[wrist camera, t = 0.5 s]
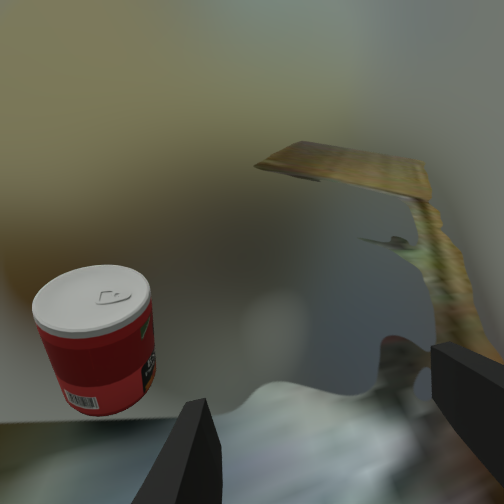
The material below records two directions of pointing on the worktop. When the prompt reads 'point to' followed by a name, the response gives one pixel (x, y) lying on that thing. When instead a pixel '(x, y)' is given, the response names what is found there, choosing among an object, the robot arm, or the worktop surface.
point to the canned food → (98, 336)
